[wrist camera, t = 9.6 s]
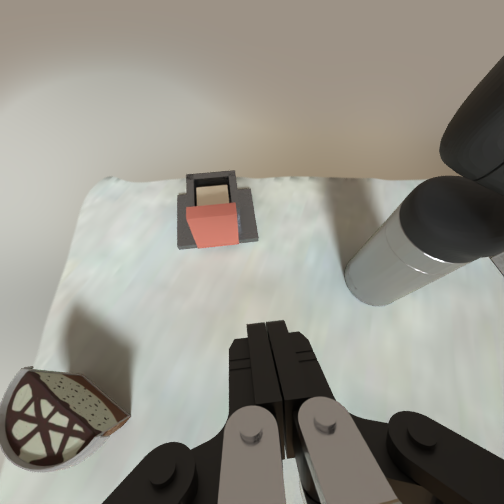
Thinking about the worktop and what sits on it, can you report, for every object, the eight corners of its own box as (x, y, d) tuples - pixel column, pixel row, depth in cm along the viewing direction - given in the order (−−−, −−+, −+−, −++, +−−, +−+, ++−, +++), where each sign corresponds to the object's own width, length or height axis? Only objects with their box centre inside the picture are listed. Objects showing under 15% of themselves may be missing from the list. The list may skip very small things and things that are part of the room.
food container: (38, 410, 34) (-38, 423, 25) (75, 367, 36) (18, 365, 27) (103, 473, 31) (45, 513, 22) (139, 423, 34) (99, 440, 25)
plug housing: (250, 192, 50) (250, 168, 45) (258, 241, 46) (259, 221, 40) (178, 199, 49) (169, 176, 44) (179, 249, 45) (169, 230, 39)
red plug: (233, 201, 48) (230, 165, 39) (238, 244, 44) (236, 214, 36) (196, 205, 47) (185, 169, 39) (197, 248, 43) (186, 219, 35)
